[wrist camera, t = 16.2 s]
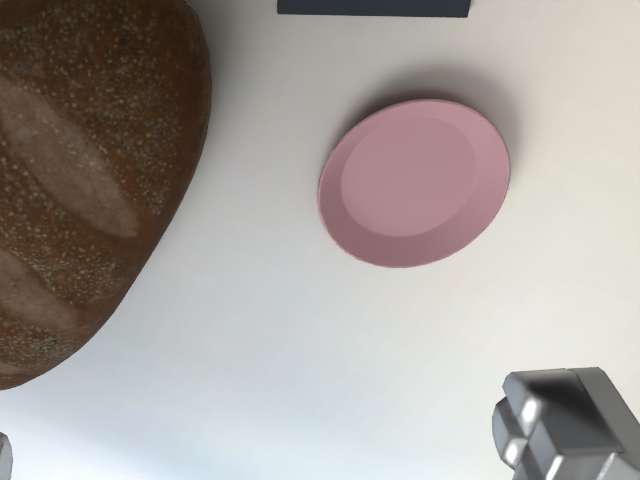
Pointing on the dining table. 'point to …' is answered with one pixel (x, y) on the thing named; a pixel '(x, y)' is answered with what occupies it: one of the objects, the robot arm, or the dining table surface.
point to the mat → (376, 7)
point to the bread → (89, 161)
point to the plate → (413, 183)
